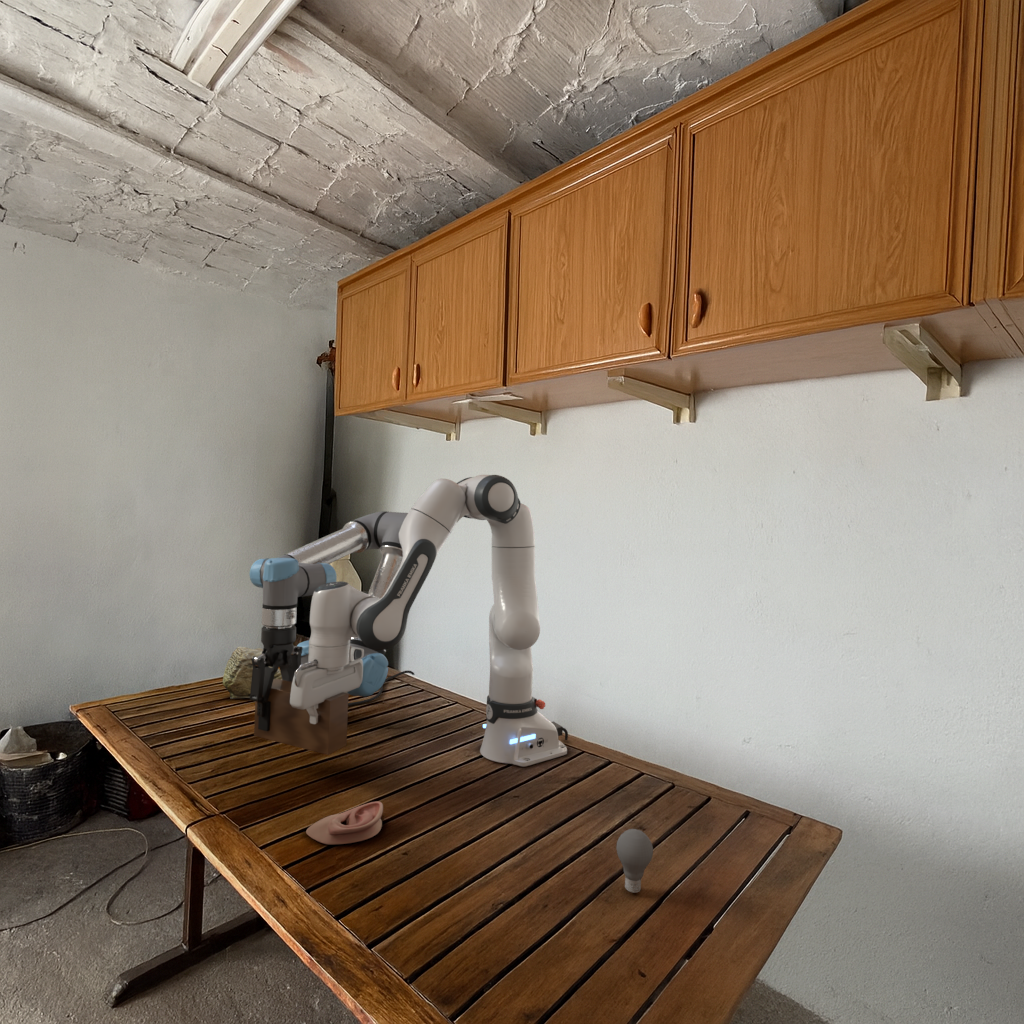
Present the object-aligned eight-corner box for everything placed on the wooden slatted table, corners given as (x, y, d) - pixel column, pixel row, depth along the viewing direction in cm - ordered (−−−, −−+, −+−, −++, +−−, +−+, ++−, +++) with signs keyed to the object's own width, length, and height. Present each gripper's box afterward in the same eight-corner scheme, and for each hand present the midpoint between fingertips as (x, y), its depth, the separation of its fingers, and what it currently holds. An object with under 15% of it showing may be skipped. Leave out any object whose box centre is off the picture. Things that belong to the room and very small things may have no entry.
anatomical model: (298, 818, 116) (328, 791, 128) (297, 839, 116) (327, 810, 128) (365, 829, 114) (390, 800, 125) (364, 851, 114) (389, 820, 125)
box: (253, 736, 145) (255, 684, 145) (274, 727, 151) (276, 678, 150) (328, 755, 136) (330, 700, 136) (346, 745, 142) (348, 693, 142)
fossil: (218, 695, 195) (220, 647, 195) (278, 685, 208) (279, 640, 207) (228, 703, 189) (230, 653, 188) (289, 692, 201) (290, 645, 201)
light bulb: (610, 879, 108) (613, 822, 108) (644, 879, 109) (647, 822, 109) (619, 902, 102) (622, 840, 102) (655, 901, 103) (658, 840, 103)
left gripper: (259, 635, 136) (255, 741, 136) (320, 620, 153) (316, 715, 154) (233, 630, 139) (229, 735, 139) (296, 617, 156) (292, 710, 157)
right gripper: (307, 668, 129) (305, 735, 129) (368, 648, 148) (366, 707, 148) (283, 663, 132) (281, 729, 132) (346, 645, 151) (344, 702, 151)
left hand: (275, 724), depth 146 cm, fingers closed on box, 6 cm apart
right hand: (326, 717), depth 140 cm, fingers closed on box, 6 cm apart
